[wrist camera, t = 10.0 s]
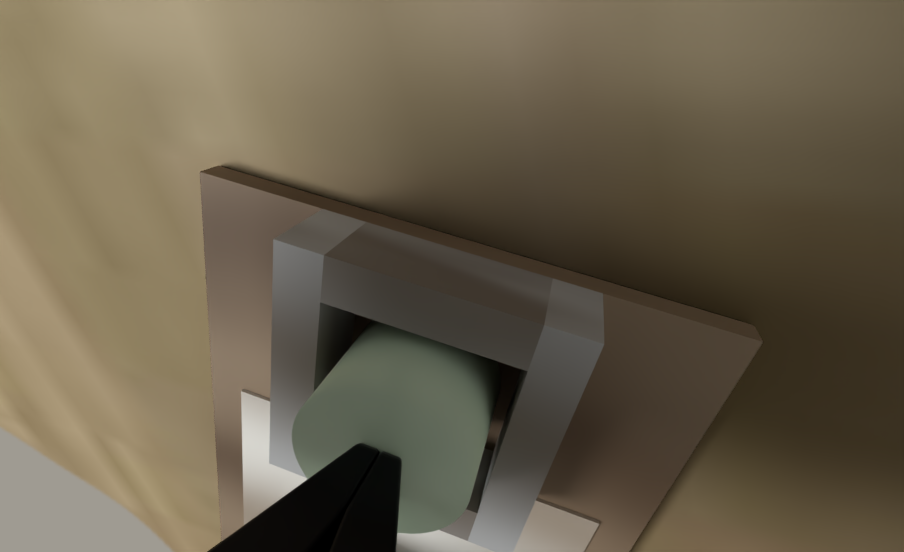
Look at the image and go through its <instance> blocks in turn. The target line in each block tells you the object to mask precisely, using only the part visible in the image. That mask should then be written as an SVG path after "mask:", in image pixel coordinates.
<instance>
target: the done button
mask: <svg viewBox="0 0 904 552" xmlns="http://www.w3.org/2000/svg"><path fill="white" fill-rule="evenodd" d="M500 388H501V375H500V369H499V365H498V362H497V361H495V360H492V359H489V358H486V357H483V356H480V355H477V354H474V353H471V352H468V351H465V350H462V349H459V348H456V347H453V346H450V345H447V344H444V343H441V342H438V341H435V340H432V339H429V338H426V337H423V336H420V335H417V334H414V333H411V332H408V331H405V330H402V329H399V328H396V327H393V326H390V325H387V324H384V323H381V322H378V321H375V320H372V321H371V322H370V323H369V325H368V326H367V327H366V328H365V329H364V331H363V332H362V333H361V334H360V336H359V337H358V338H357V339H356V341H355V342H354V343H353V344H352V346H351V347H350V348H349V349H348V350H347V352H346V353H345V354H344V355H343V357H342V358H341V359H340V360H339V362H338V363H337V364H336V365H335V367H334V368H333V369H332V370H331V372H330V373H329V374H328V375H327V376H326V378H325V379H324V380H323V381H322V383H321V384H320V385H319V386H318V388H317V389H316V390H315V391H314V393H313V394H312V395H311V396H310V398H309V399H308V400H307V401H306V402H305V404H304V405H303V406H302V407H301V409H300V410H299V412H298V413H297V415H296V417H295V420H294V423H293V428H292V444H293V450H294V453H295V456H296V459H297V461H298V464H299V466H300V468H301V470H302V471H303V473H304V474H305V476H306V478H307V479H309V478H310V477H311V476H313V475H314V474H315V473H317V472H318V471H320V470H321V469H322V468H324V467H325V466H327V465H328V464H329V463H331V462H332V461H333V460H335V459H336V458H338V457H339V456H340V455H342V454H343V453H345V452H346V451H347V450H349V449H350V448H351V447H353V446H354V445H356V444H358V443H363V444H366V445H368V446H371V447H374V448H376V449H378V450H379V452H380V453H381V452H387V453H390V454H393V455H395V456H398V457H400V458H401V459H402V472H401V487H400V502H399V517H398V532H397V533H406V534H421V533H428V532H433V531H436V530H440V529H442V528H444V527H446V526H448V525H450V524H452V523H453V522H455V521H456V520H457V519H458V518H459V517H460V516H461V515H462V514H463V512H464V511H465V510H466V508H467V506H468V504H469V501H470V498H471V494H472V491H473V487H474V484H475V480H476V476H477V473H478V469H479V465H480V462H481V458H482V455H483V451H484V447H485V444H486V440H487V437H488V433H489V429H490V426H491V422H492V418H493V415H494V411H495V408H496V404H497V400H498V397H499V393H500Z"/></svg>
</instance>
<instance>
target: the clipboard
mask: <svg viewBox="0 0 904 552" xmlns="http://www.w3.org/2000/svg"><path fill="white" fill-rule="evenodd" d="M200 183H201V200H202V217H203V234H204V251H205V268H206V285H207V302H208V319H209V336H210V353H211V370H212V387H213V404H214V421H215V438H216V455H217V472H218V489H219V506H220V523H221V540H222V541H223V540H224V539H226V538H227V537H228V536H230V535H231V534H232V533H234V532H235V531H237V530H238V529H239V528H241V527H242V526H244V525H245V524H246V523H248V522H249V521H250V520H252V519H253V518H255V517H256V516H257V515H259V514H260V513H262V512H263V511H264V510H266V509H267V508H268V507H270V506H271V505H273V504H274V503H275V502H277V501H278V500H279V499H281V498H282V497H284V496H285V495H286V494H288V493H289V492H291V491H292V490H293V489H295V488H296V487H297V486H299V485H300V484H302V483H303V482H304V481H306V480H307V478H306V476H305V474H304V473H303V471H302V470H301V468H300V466H299V464H298V461H297V459H296V456H295V453H294V450H293V444H292V428H293V423H294V420H295V417H296V415H297V413H298V412H299V410H300V409H301V407H302V406H303V405H304V404H305V402H306V401H307V400H308V399H309V398H310V396H311V395H312V394H313V393H314V391H315V390H316V389H317V388H318V386H319V385H320V384H321V383H322V381H323V380H324V379H325V378H326V376H327V375H328V374H329V373H330V372H331V370H332V369H333V368H334V367H335V365H336V364H337V363H338V362H339V360H340V359H341V358H342V357H343V355H344V354H345V353H346V352H347V350H348V349H349V348H350V347H351V346H352V344H353V343H354V342H355V341H356V339H357V338H358V337H359V336H360V334H361V333H362V332H363V331H364V329H365V328H366V327H367V326H368V325H369V323H370V322H371V321H372V320H375V321H378V322H381V323H384V324H387V325H390V326H393V327H396V328H399V329H402V330H405V331H408V332H411V333H414V334H417V335H420V336H423V337H426V338H429V339H432V340H435V341H438V342H441V343H444V344H447V345H450V346H453V347H456V348H459V349H462V350H465V351H468V352H471V353H474V354H477V355H480V356H483V357H486V358H489V359H492V360H495V361H497V362H498V365H499V369H500V375H501V388H500V393H499V397H498V400H497V404H496V408H495V411H494V415H493V418H492V422H491V426H490V429H489V433H488V437H487V440H486V444H485V447H484V451H483V455H482V458H481V462H480V465H479V469H478V473H477V476H476V480H475V484H474V487H473V491H472V494H471V498H470V501H469V504H468V506H467V508H466V510H465V511H464V512H463V514H462V515H461V516H460V517H459V518H458V519H457V520H456V521H455V522H453V523H452V524H450V525H448V526H446V527H444V528H442V529H440V530H436V531H433V532H428V533H421V534H406V533H397V547H396V552H629V551H630V550H631V548H632V547H633V545H634V544H635V542H636V540H637V539H638V537H639V536H640V534H641V533H642V531H643V530H644V528H645V526H646V525H647V523H648V522H649V520H650V519H651V517H652V515H653V514H654V512H655V511H656V509H657V508H658V506H659V504H660V503H661V501H662V500H663V498H664V497H665V495H666V493H667V492H668V490H669V489H670V487H671V486H672V484H673V482H674V481H675V479H676V478H677V476H678V475H679V473H680V472H681V470H682V468H683V467H684V465H685V464H686V462H687V461H688V459H689V457H690V456H691V454H692V453H693V451H694V450H695V448H696V446H697V445H698V443H699V442H700V440H701V439H702V437H703V435H704V434H705V432H706V431H707V429H708V428H709V426H710V425H711V423H712V421H713V420H714V418H715V417H716V415H717V414H718V412H719V410H720V409H721V407H722V406H723V404H724V403H725V401H726V399H727V398H728V396H729V395H730V393H731V392H732V390H733V388H734V387H735V385H736V384H737V382H738V381H739V379H740V377H741V376H742V374H743V373H744V371H745V370H746V368H747V367H748V365H749V363H750V362H751V360H752V359H753V357H754V356H755V354H756V352H757V351H758V349H759V348H760V346H761V345H762V343H763V341H762V339H761V337H760V335H759V333H758V332H757V330H756V328H755V326H754V325H751V324H748V323H745V322H741V321H738V320H734V319H731V318H728V317H724V316H721V315H718V314H714V313H711V312H708V311H704V310H701V309H698V308H694V307H691V306H687V305H684V304H681V303H677V302H674V301H671V300H667V299H664V298H661V297H657V296H654V295H651V294H647V293H644V292H641V291H637V290H634V289H630V288H627V287H624V286H620V285H617V284H614V283H610V282H607V281H604V280H600V279H597V278H594V277H590V276H587V275H583V274H580V273H577V272H573V271H570V270H567V269H563V268H560V267H557V266H553V265H550V264H547V263H543V262H540V261H536V260H533V259H530V258H526V257H523V256H520V255H516V254H513V253H510V252H506V251H503V250H500V249H496V248H493V247H490V246H486V245H483V244H479V243H476V242H473V241H469V240H466V239H463V238H459V237H456V236H453V235H449V234H446V233H443V232H439V231H436V230H432V229H429V228H426V227H422V226H419V225H416V224H412V223H409V222H406V221H402V220H399V219H396V218H392V217H389V216H385V215H382V214H379V213H375V212H372V211H369V210H365V209H362V208H359V207H355V206H352V205H349V204H345V203H342V202H338V201H335V200H332V199H328V198H325V197H322V196H318V195H315V194H312V193H308V192H305V191H302V190H298V189H295V188H292V187H288V186H285V185H281V184H278V183H275V182H271V181H268V180H265V179H261V178H258V177H255V176H251V175H248V174H245V173H241V172H238V171H234V170H231V169H228V168H224V167H221V166H216V167H213V168H210V169H207V170H204V171H201V172H200Z"/></svg>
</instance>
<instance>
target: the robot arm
mask: <svg viewBox="0 0 904 552" xmlns="http://www.w3.org/2000/svg"><path fill="white" fill-rule="evenodd" d="M401 472H402V459H401V458H400V457H398V456H395V455H393V454H390V453H387V452H381V453H380V452H379V450H378V449H376V448H374V447H371V446H368V445H366V444H363V443H358V444H356V445H354V446H353V447H351V448H350V449H349V450H347V451H346V452H345V453H343V454H342V455H340V456H339V457H338V458H336V459H335V460H333V461H332V462H331V463H329V464H328V465H327V466H325V467H324V468H322V469H321V470H320V471H318V472H317V473H315V474H314V475H313V476H311V477H310V478H309V479H307V480H306V481H304V482H303V483H302V484H300V485H299V486H297V487H296V488H295V489H293V490H292V491H291V492H289V493H288V494H286V495H285V496H284V497H282V498H281V499H279V500H278V501H277V502H275V503H274V504H273V505H271V506H270V507H268V508H267V509H266V510H264V511H263V512H262V513H260V514H259V515H257V516H256V517H255V518H253V519H252V520H250V521H249V522H248V523H246V524H245V525H244V526H242V527H241V528H239V529H238V530H237V531H235V532H234V533H232V534H231V535H230V536H228V537H227V538H226V539H224V540H223V541H221V542H220V543H219V544H217V545H216V546H214V547H213V548H212V549H210V550H209V551H208V552H396V547H397V532H398V517H399V502H400V487H401Z"/></svg>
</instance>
